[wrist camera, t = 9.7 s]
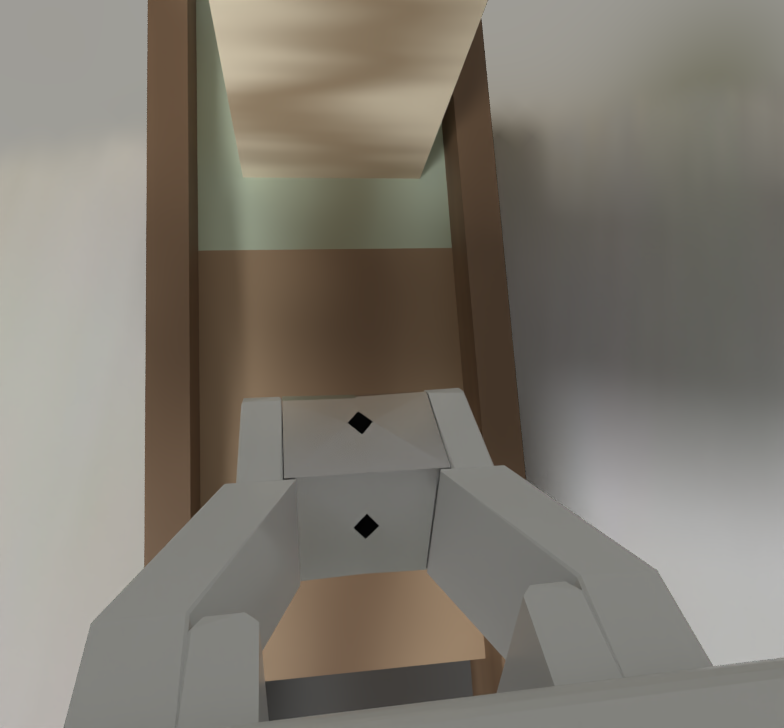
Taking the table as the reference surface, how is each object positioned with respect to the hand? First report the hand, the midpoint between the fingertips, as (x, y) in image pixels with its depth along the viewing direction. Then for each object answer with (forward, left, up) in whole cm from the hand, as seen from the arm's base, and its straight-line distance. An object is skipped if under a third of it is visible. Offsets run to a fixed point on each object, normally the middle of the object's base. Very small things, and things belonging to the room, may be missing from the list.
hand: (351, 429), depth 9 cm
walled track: (0, +1, -10) cm, 10 cm away
